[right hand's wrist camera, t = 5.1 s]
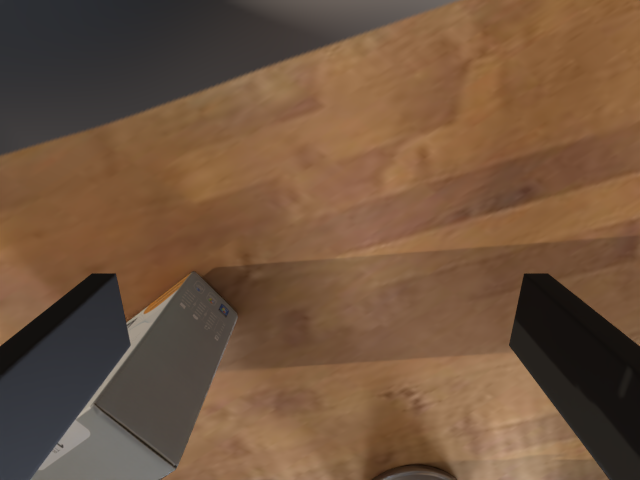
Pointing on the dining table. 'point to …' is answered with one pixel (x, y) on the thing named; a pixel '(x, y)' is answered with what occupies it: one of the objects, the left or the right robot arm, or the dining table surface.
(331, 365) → the dining table surface
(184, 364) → the hard drive box
